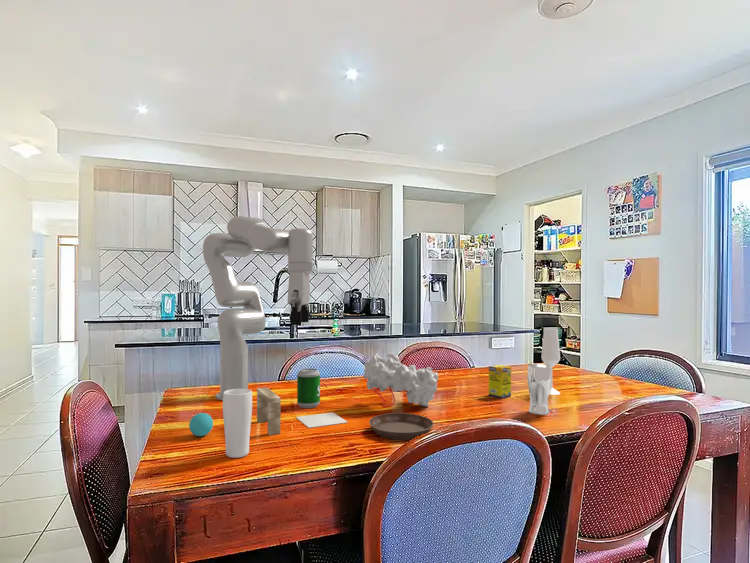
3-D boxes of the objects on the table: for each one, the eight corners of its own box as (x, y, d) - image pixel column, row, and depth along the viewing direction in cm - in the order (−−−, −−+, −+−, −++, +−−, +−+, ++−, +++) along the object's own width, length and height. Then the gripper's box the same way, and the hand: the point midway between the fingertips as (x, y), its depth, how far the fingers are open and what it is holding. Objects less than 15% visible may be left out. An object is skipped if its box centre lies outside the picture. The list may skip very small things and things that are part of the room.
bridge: (269, 435, 130) (269, 399, 130) (256, 421, 143) (257, 388, 143) (280, 433, 131) (280, 397, 131) (267, 419, 144) (267, 387, 145)
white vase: (550, 410, 155) (550, 364, 155) (550, 416, 149) (550, 367, 149) (527, 408, 158) (527, 362, 158) (527, 414, 151) (527, 366, 151)
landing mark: (296, 417, 147) (296, 416, 147) (332, 413, 152) (332, 412, 152) (308, 428, 136) (308, 427, 136) (347, 422, 141) (347, 422, 141)
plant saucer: (444, 439, 127) (444, 427, 127) (379, 445, 122) (379, 433, 122) (419, 421, 144) (419, 411, 144) (361, 426, 139) (361, 415, 139)
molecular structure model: (394, 419, 172) (342, 385, 162) (417, 373, 178) (368, 337, 168) (428, 431, 155) (372, 394, 145) (452, 380, 161) (400, 341, 151)
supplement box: (502, 398, 171) (502, 368, 171) (488, 396, 176) (488, 365, 176) (511, 396, 175) (511, 366, 175) (497, 393, 180) (497, 364, 180)
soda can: (315, 409, 157) (315, 372, 157) (293, 408, 158) (293, 371, 158) (322, 403, 164) (322, 368, 164) (301, 402, 166) (301, 367, 166)
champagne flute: (563, 394, 178) (563, 329, 178) (544, 394, 178) (544, 329, 178) (556, 390, 185) (556, 328, 185) (538, 390, 185) (538, 327, 185)
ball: (188, 434, 130) (188, 411, 130) (211, 431, 133) (211, 409, 133) (190, 440, 125) (190, 417, 125) (214, 437, 128) (214, 414, 128)
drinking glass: (226, 450, 118) (226, 388, 118) (254, 449, 118) (254, 388, 118) (219, 460, 111) (219, 395, 111) (249, 459, 112) (249, 394, 112)
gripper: (295, 269, 160) (295, 321, 160) (280, 267, 142) (280, 325, 142) (317, 269, 159) (317, 321, 159) (305, 267, 142) (305, 326, 142)
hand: (299, 323), depth 151 cm, fingers open, 9 cm apart
